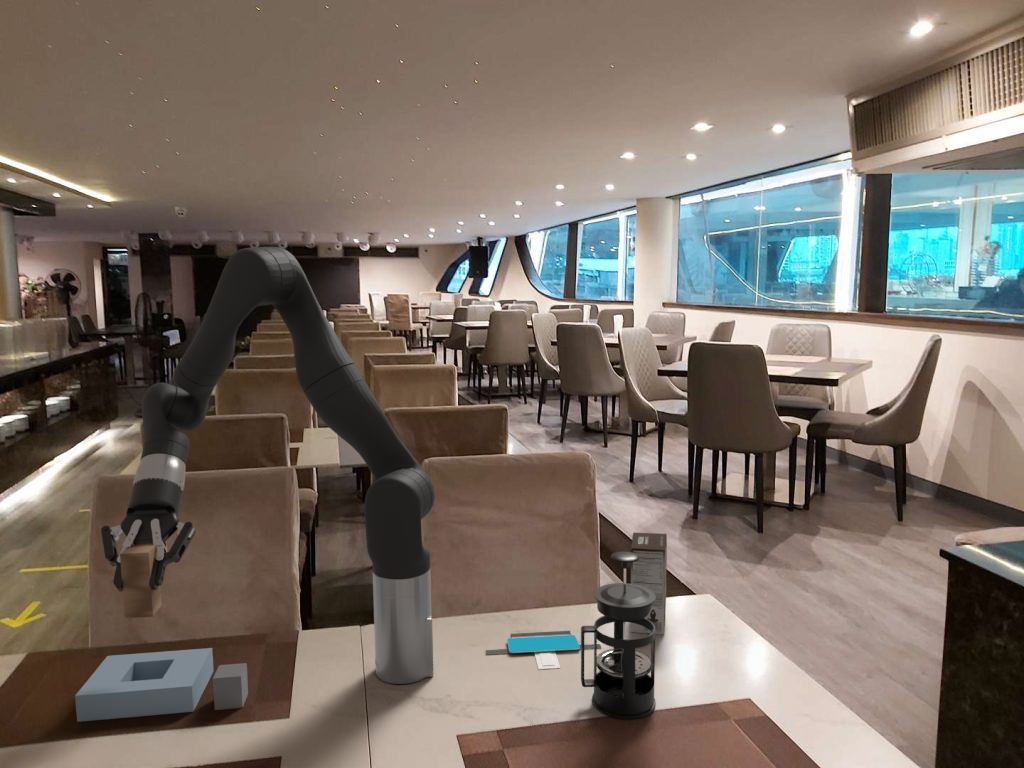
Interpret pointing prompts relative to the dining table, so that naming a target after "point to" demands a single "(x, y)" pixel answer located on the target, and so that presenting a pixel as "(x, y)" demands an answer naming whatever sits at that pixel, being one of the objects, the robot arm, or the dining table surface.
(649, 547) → the coffee box
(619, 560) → the french press
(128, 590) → the walnut pin
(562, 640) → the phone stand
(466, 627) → the dining table surface
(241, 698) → the grey upright block
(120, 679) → the blue-grey flat frame
